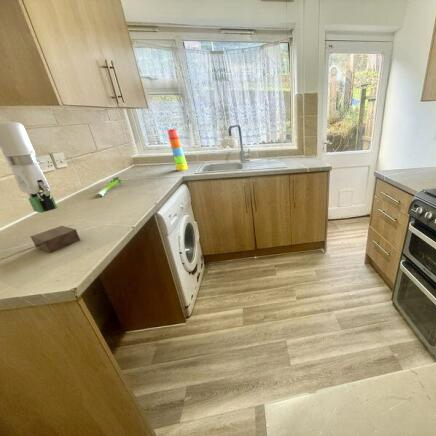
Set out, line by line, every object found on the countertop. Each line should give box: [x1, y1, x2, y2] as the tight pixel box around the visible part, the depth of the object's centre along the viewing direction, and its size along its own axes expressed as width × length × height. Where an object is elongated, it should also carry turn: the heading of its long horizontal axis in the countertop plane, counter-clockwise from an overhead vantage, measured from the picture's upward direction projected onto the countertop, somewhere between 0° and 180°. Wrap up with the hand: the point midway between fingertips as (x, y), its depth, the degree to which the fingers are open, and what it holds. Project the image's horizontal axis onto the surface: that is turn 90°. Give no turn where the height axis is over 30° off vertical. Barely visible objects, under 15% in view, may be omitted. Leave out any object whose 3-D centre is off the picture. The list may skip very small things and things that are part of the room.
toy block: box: [28, 194, 58, 214], centre depth 91 cm, size 5×5×5 cm
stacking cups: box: [167, 128, 188, 171], centre depth 209 cm, size 10×10×35 cm
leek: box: [95, 176, 123, 198], centre depth 164 cm, size 6×7×30 cm
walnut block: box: [29, 225, 81, 254], centre depth 95 cm, size 10×10×5 cm
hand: (45, 208), depth 91 cm, fingers closed on toy block, 5 cm apart
